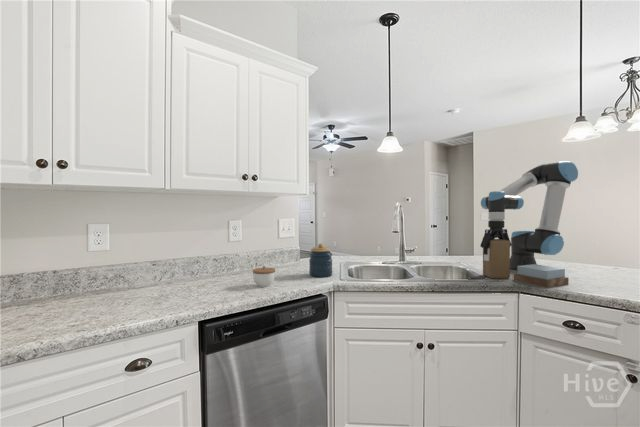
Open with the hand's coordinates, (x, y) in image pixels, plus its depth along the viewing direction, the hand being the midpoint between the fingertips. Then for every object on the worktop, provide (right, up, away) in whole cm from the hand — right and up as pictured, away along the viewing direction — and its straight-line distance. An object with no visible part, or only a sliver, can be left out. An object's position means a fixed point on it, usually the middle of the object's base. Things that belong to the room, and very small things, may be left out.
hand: (495, 260), depth 164 cm
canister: (-94, -10, +7) cm, 95 cm away
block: (0, -9, 0) cm, 9 cm away
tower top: (+15, -6, -12) cm, 20 cm away
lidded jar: (-121, -10, -16) cm, 123 cm away
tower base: (+15, -10, -12) cm, 22 cm away
